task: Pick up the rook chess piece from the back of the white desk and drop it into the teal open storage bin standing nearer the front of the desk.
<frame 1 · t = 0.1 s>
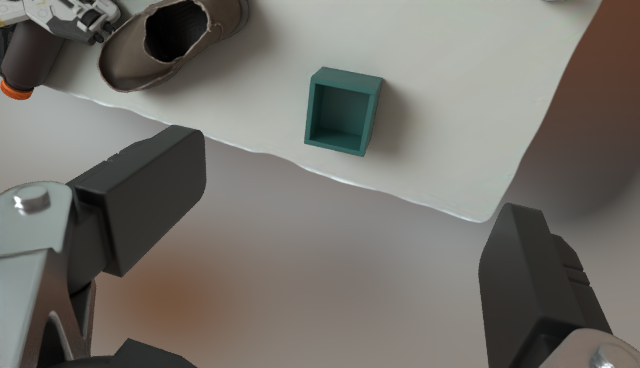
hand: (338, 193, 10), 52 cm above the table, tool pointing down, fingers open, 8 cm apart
teal open storage bin: (347, 104, 64), on the table
toy gun: (1, 36, 61), point 12 cm above the table, touching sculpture, vinegar
vinegar: (49, 12, 66), point 3 cm above the table, touching toy gun
loafer: (176, 32, 66), on the table
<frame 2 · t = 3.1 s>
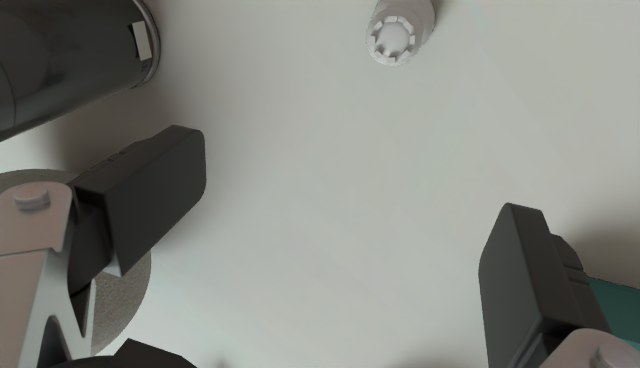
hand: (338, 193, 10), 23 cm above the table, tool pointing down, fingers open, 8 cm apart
teal open storage bin: (568, 314, 37), on the table
rook chess piece: (403, 20, 29), on the table
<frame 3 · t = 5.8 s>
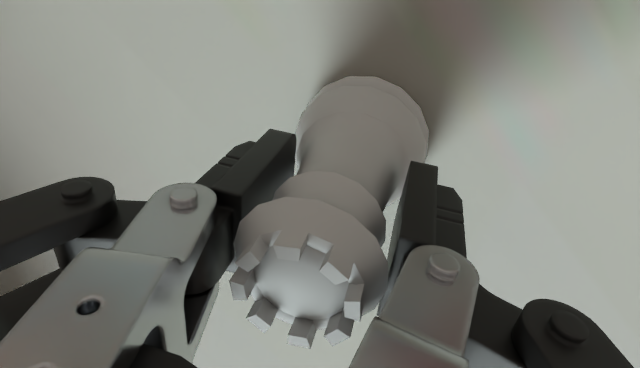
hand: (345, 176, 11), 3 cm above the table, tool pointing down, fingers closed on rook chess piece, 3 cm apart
rook chess piece: (365, 133, 14), on the table, touching gripper
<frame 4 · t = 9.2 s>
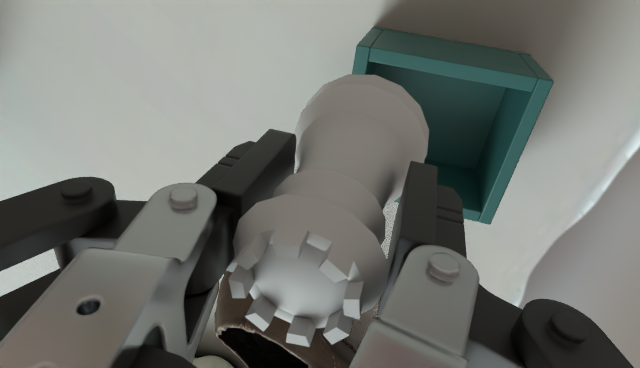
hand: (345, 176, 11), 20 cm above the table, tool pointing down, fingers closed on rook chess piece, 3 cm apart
teal open storage bin: (430, 106, 29), on the table
rook chess piece: (365, 131, 14), point 16 cm above the table, touching gripper
loafer: (309, 337, 46), on the table
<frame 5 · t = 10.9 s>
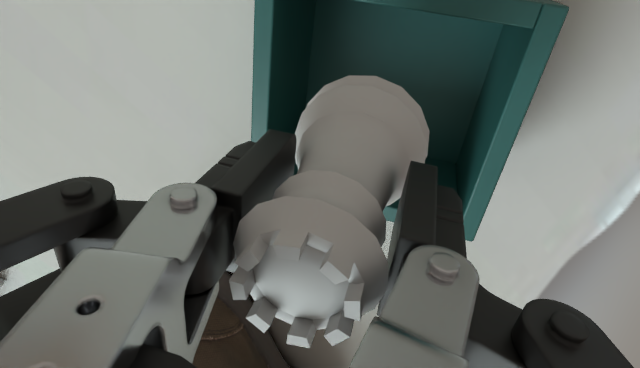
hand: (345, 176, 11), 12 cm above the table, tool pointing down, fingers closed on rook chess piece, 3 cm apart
teal open storage bin: (393, 74, 21), on the table
rook chess piece: (365, 132, 14), point 9 cm above the table, touching gripper
when the fingers open (7 cm above the table, at t = 12.6 s): rook chess piece drops 3 cm, resting on teal open storage bin.
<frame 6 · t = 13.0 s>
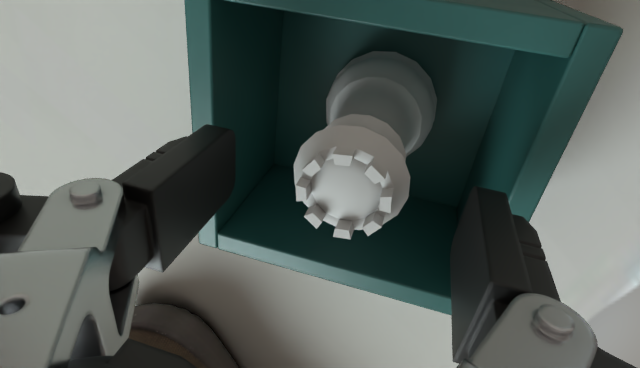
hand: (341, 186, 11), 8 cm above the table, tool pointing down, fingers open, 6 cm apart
teal open storage bin: (380, 100, 17), on the table
rook chess piece: (383, 101, 17), resting on teal open storage bin
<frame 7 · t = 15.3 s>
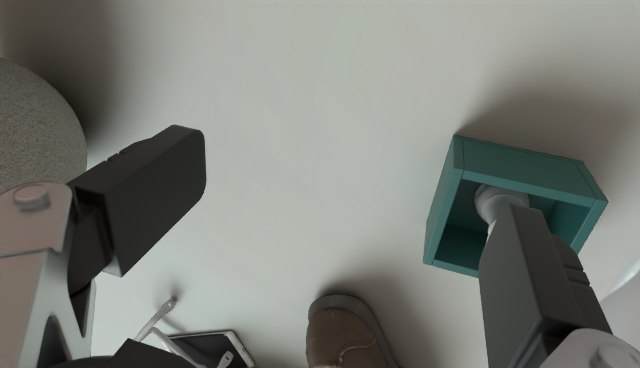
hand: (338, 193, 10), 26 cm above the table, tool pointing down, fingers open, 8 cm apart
teal open storage bin: (497, 194, 36), on the table
rook chess piece: (500, 195, 36), resting on teal open storage bin
smartphone: (244, 349, 58), on the table, touching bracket
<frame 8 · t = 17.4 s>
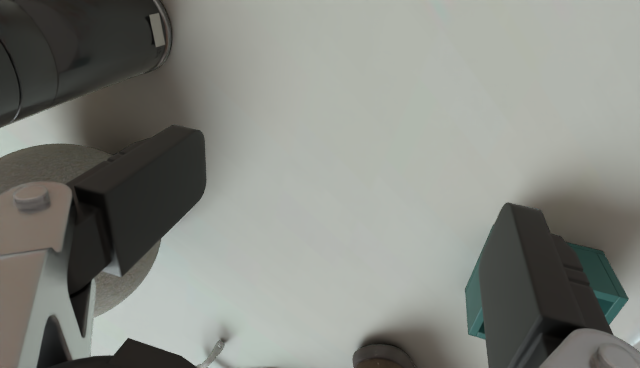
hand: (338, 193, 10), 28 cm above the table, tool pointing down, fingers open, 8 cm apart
teal open storage bin: (528, 271, 42), on the table
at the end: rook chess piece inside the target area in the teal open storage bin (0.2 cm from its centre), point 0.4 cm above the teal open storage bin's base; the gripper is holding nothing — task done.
